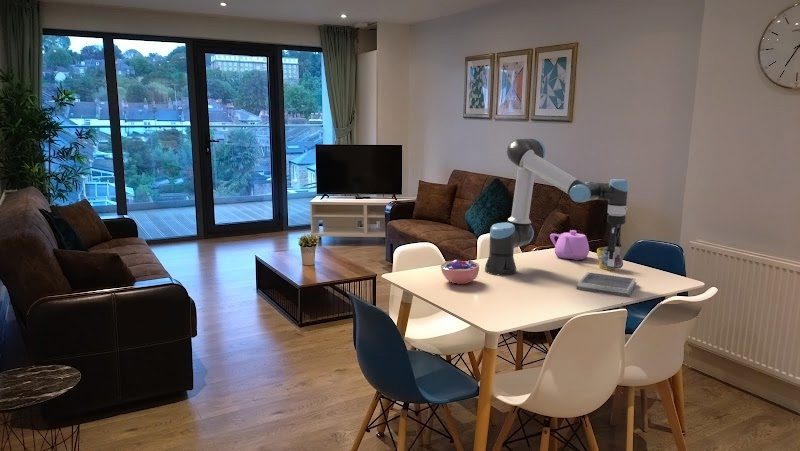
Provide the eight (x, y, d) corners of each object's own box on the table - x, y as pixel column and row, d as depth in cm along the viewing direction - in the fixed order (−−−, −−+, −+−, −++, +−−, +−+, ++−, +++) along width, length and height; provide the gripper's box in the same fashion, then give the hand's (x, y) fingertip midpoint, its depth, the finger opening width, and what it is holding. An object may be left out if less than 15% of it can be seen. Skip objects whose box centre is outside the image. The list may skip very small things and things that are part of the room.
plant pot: (607, 272, 280) (609, 252, 278) (591, 267, 288) (592, 248, 287) (621, 269, 285) (623, 250, 283) (605, 265, 294) (606, 246, 292)
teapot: (553, 251, 322) (554, 226, 320) (591, 256, 312) (593, 230, 309) (540, 259, 303) (542, 232, 301) (580, 265, 293) (583, 236, 290)
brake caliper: (630, 265, 244) (614, 242, 244) (608, 278, 247) (592, 256, 247) (626, 259, 255) (611, 237, 255) (605, 272, 258) (589, 251, 258)
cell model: (487, 281, 259) (488, 257, 257) (461, 290, 244) (462, 265, 242) (457, 274, 270) (458, 251, 268) (431, 283, 255) (432, 258, 253)
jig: (576, 289, 249) (576, 282, 249) (586, 277, 268) (587, 271, 268) (629, 297, 239) (629, 290, 238) (636, 284, 258) (636, 278, 257)
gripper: (621, 219, 235) (617, 270, 239) (629, 212, 255) (625, 259, 259) (602, 217, 239) (599, 267, 243) (612, 210, 259) (608, 257, 263)
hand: (612, 263), depth 251 cm, fingers closed on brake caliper, 11 cm apart
